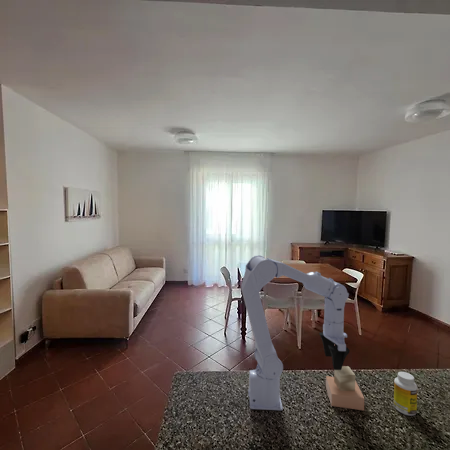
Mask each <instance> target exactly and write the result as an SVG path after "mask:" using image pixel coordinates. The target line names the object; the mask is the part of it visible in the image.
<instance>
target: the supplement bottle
mask: <svg viewBox="0 0 450 450" xmlns="http://www.w3.org/2000/svg"><path fill="white" fill-rule="evenodd" d="M393 386H394V387H393V407H394V408H395V409H396V411H398V412H400V413H401V414H403V415H405V416H411V417H413V416H416V414H417V413H418V385H417V384H416V382H415V377H414V375H412V374H410V373H409V372H406V371H398V372H397V377H395V378H394V381H393Z"/></svg>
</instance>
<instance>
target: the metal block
mask: <svg viewBox="0 0 450 450" xmlns="http://www.w3.org/2000/svg"><path fill="white" fill-rule="evenodd" d="M333 370H334V369H333ZM333 372H334V373H333V375H334V376H333V377H334V382H335V383H336V385H337V387H338V388H339V390H340V391H355V380H356V374H355V372H353V370H352V369H351V367H350V366H348V365H347V366H346V365H343V366H342V369H341V370H334V371H333Z"/></svg>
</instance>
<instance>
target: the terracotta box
mask: <svg viewBox="0 0 450 450" xmlns="http://www.w3.org/2000/svg"><path fill="white" fill-rule="evenodd" d="M325 389H326V392H327V395H328V398H329V401H330V405H331V406H332V407H337V408H343V409H351V410H359V411H365V397H364V395H363V393H362V390H361V389H360V387H359V384H358V382H357V381H356V379H355V391H340V390H339V388H338V387H337V385H336V383H335V382H334V376H328V375H326V376H325Z"/></svg>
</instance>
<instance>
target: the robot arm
mask: <svg viewBox="0 0 450 450" xmlns="http://www.w3.org/2000/svg"><path fill="white" fill-rule="evenodd" d="M321 274H322V273H321V272H318V271H310V272H306V273H305V272H303V271H302V270H299V269H297V268H294V267H293V266H290V265H289V264H286V263H284V262H282V261H279V260H276V259H272V258H269V257H266V258H265V257H264V256H262V255H254V256H253V257H251V258H250V259H249V261H248V262H247V263H246V264H245V271H244V275H243V277H242V282H241V285H240V289H241V292H242V293H241V294H242V297H243V300H244V305H245V308H246V309H245V310H246V313H247V316H248V320H249V324H250V327H251V331H252V335H253V338H254V352H253V353H254V358H255V361H256V362H257V364H256V368H255V369H250V370H249V373H248V374H249V376H248V380H249V381H248V389H247V393H248V394H247V396H248V397H249V409H250V410H263V411H264V410H265V411H266V410H268V411H283V410H284V408H283V404H282V399H281V394H280V392H281V391H280V390H281V389H280V388H281V381H280V380H281V375H282V374H283V370H284V364H283V362H282V360H280V358H279V357H278V353H277V351H276V349H275V347H274V346H275V345H274V344H273V342H272V341H273V340H272V338H271V335H270V330H269V326H268V322H267V319H266V314H265V311H264V307H263V303H262V300H261V295H260V292H261V290H262V289H263V288H264V287H265V286H266V285H267V284H268V283H270V282H271V281H272V280H273V279H274V278H277V279H278V278H280V277H287V278H288V279H292V280H294V281H297V282H299V283H302V285H303V287H304V289H305V290H307V291H310V292H312V293H314V294H317V295H318V296H322V297H324V309H323V312H324V314H323V317H324V318H323V324H322V330H323V331H322V332H319V333H318V334H319V336H320V340H321V341H322V345H323V351H324V354H325V357H331V359H332V368H333V370H341V369H342V366H344V363H345V360H346V358H347V356H348V355H349V354H350V348H348V347H347V344H346V342H345V338H348V334H347V333H346V332H344V324H345V323H344V321H345V320H344V319H345V306H346V302H347V300H348V298H349V297H350V296H349V295H350V293H349V292H348V290H347V288H346V286H345V285H344V284H341V283H340V282H336V281H334V279H333V278H331V277H328V278H327V277H325V276H323V275H321Z"/></svg>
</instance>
